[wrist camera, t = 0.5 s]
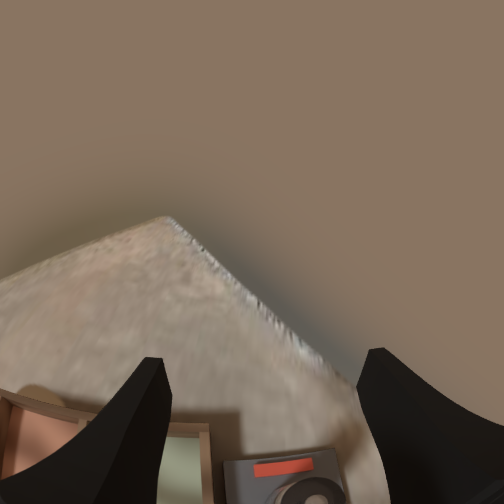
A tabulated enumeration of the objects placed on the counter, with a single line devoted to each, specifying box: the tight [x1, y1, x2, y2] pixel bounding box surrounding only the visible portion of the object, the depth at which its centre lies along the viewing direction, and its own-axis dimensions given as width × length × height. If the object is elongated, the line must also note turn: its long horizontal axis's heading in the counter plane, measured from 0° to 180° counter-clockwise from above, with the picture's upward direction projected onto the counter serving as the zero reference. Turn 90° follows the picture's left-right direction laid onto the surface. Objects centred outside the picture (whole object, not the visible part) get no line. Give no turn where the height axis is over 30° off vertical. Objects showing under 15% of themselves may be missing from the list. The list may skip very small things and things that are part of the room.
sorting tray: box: [0, 389, 215, 504], centre depth 15 cm, size 12×22×4 cm, turn 95°
